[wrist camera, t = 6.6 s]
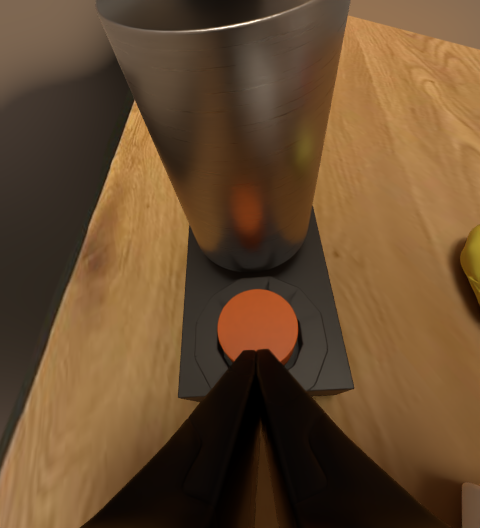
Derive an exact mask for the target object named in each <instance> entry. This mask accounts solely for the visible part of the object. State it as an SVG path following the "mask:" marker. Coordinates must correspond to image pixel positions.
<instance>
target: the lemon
mask: <svg viewBox="0 0 480 528" xmlns="http://www.w3.org/2000/svg"><path fill="white" fill-rule="evenodd" d="M460 262H461V266H462V268H463V270H464V272H465V274H466V276H467V277H468V280H469V282H470V285H471V287H472V289H473V291H474V293H475V295H476V298H477V300H478V303H479V305H480V225H478V226H476V227H475V228H473V229H472V231H471V232H470V233H469V235H468V238H467V241H466V244H465V247H464V248H463V250H462V252H461V255H460Z"/></svg>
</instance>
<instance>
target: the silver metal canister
mask: <svg viewBox="0 0 480 528" xmlns="http://www.w3.org/2000/svg"><path fill="white" fill-rule="evenodd" d="M349 5H350V0H96V4H95V6H96V10H97V14H98V16H99V18H100V21H101V23H102V25H103V28H104V30H105V32H106V34H107V37H108V39H109V41H110V44H111V46H112V48H113V51H114V53H115V55H116V57H117V60H118V62H119V64H120V67H121V69H122V71H123V73H124V76H125V78H126V80H127V83H128V85H129V87H130V89H131V92H132V94H133V96H134V99H135V101H136V103H137V105H138V108H139V110H140V112H141V115H142V117H143V119H144V121H145V124H146V126H147V128H148V131H149V133H150V135H151V137H152V140H153V142H154V144H155V147H156V149H157V151H158V154H159V156H160V158H161V160H162V163H163V165H164V167H165V170H166V172H167V174H168V176H169V179H170V181H171V183H172V186H173V188H174V190H175V192H176V195H177V197H178V199H179V202H180V204H181V206H182V208H183V211H184V213H185V215H186V218H187V220H188V222H189V224H190V227H191V229H192V231H193V234H194V236H195V238H196V240H197V243H198V245H199V247H200V249H201V250H202V252H203V253H204V254H205V255H206V256H207V257H208V258H209V259H210V260H211V261H213V262H214V263H216V264H217V265H219V266H221V267H223V268H226V269H229V270H233V271H237V272H259V271H264V270H268V269H271V268H274V267H276V266H278V265H280V264H282V263H284V262H285V261H287V260H288V259H290V258H291V257H292V256H293V255H294V254H295V253H296V252H297V251H298V250H299V248H300V247H301V246H302V244H303V242H304V240H305V238H306V235H307V230H308V225H309V220H310V215H311V209H312V204H313V198H314V193H315V188H316V182H317V177H318V172H319V166H320V161H321V156H322V150H323V145H324V139H325V134H326V129H327V123H328V118H329V113H330V107H331V102H332V96H333V91H334V86H335V80H336V75H337V70H338V64H339V59H340V53H341V48H342V43H343V37H344V32H345V27H346V21H347V16H348V10H349Z"/></svg>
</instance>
